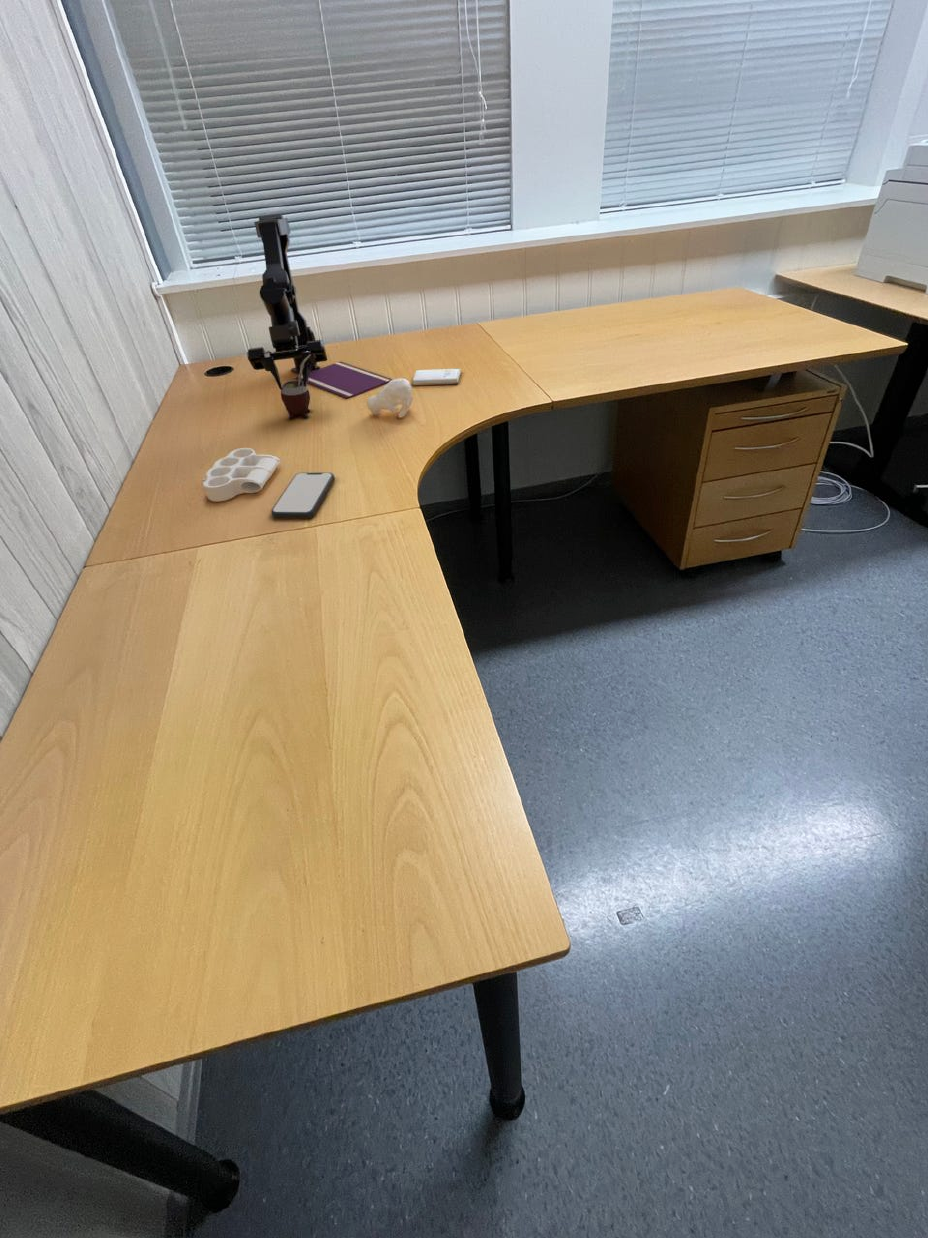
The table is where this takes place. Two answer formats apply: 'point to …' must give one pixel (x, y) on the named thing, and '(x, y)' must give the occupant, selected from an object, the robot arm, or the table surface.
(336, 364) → the towel
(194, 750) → the table surface
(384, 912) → the table surface
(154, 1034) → the table surface
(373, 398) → the white animal figurine
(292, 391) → the mate gourd
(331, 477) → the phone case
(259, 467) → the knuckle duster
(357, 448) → the table surface
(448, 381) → the hard drive
